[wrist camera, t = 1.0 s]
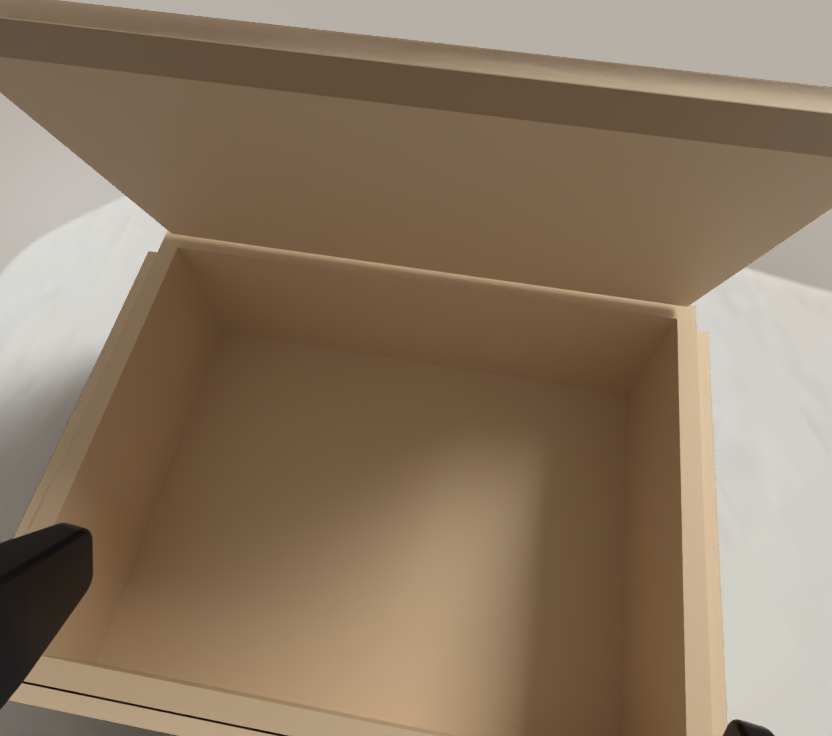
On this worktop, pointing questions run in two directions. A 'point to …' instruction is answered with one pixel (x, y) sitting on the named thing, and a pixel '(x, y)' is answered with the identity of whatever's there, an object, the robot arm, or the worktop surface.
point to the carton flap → (427, 147)
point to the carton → (387, 507)
